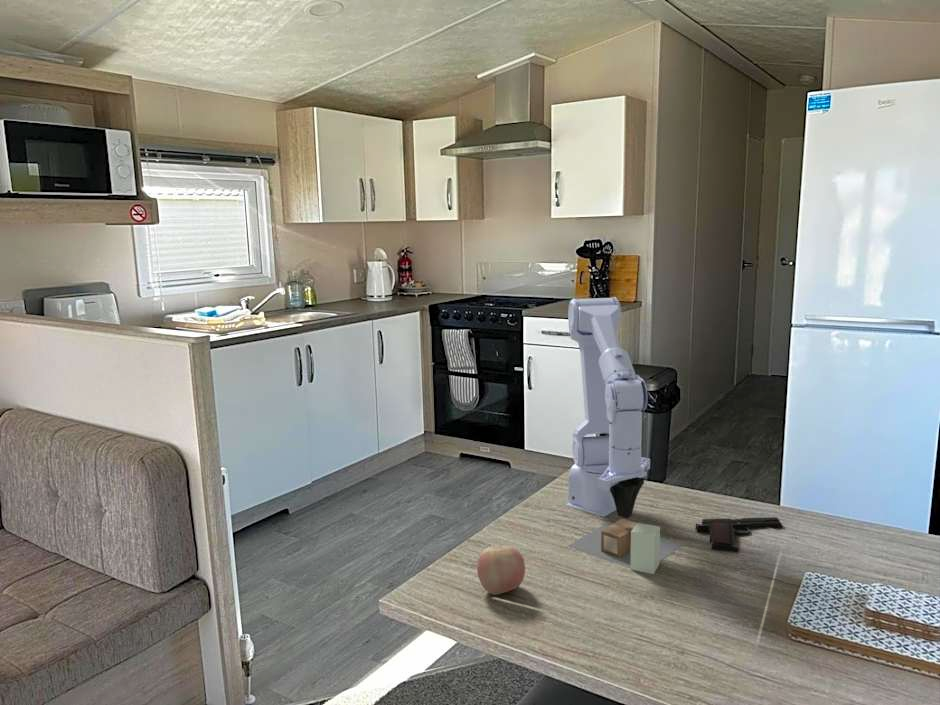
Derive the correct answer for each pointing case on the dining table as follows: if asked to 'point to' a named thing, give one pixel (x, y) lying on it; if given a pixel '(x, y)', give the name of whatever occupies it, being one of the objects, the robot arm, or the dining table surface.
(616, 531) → the walnut block
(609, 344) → the robot arm
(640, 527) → the sage block
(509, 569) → the apple
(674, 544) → the mat
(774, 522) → the handgun
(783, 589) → the dining table surface
